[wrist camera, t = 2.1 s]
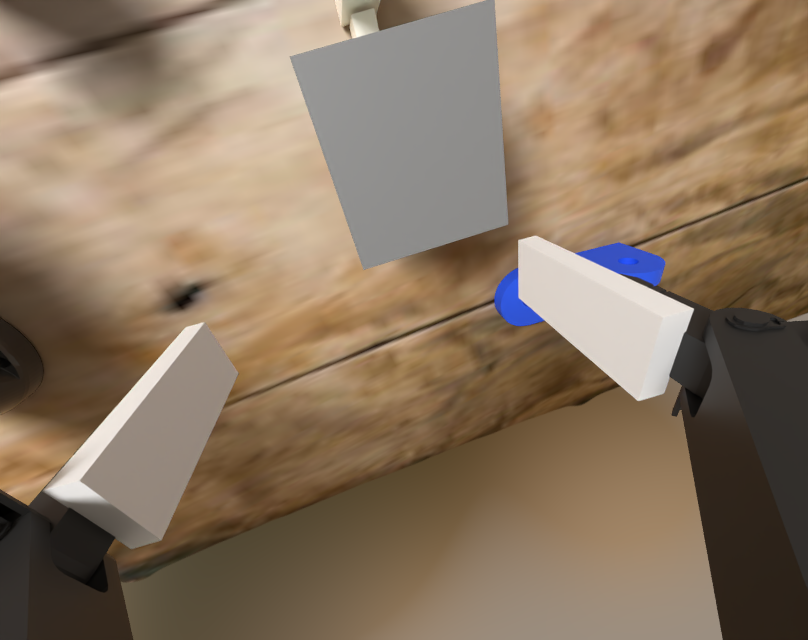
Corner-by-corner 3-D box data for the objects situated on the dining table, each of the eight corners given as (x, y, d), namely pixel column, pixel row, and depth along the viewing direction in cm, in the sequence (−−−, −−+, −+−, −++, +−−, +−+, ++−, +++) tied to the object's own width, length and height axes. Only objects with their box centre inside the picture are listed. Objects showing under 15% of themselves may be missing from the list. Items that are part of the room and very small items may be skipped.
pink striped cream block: (319, -52, 23) (307, -191, 13) (359, -63, 23) (374, -209, 13) (373, 151, 30) (390, 153, 20) (403, 142, 30) (433, 140, 21)
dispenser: (307, 88, 27) (287, 49, 16) (431, 53, 27) (493, -10, 16) (355, 229, 34) (363, 269, 23) (453, 199, 34) (508, 224, 23)
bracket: (617, 242, 41) (682, 264, 33) (607, 295, 45) (661, 325, 38) (493, 272, 40) (530, 302, 32) (494, 324, 44) (527, 362, 36)
